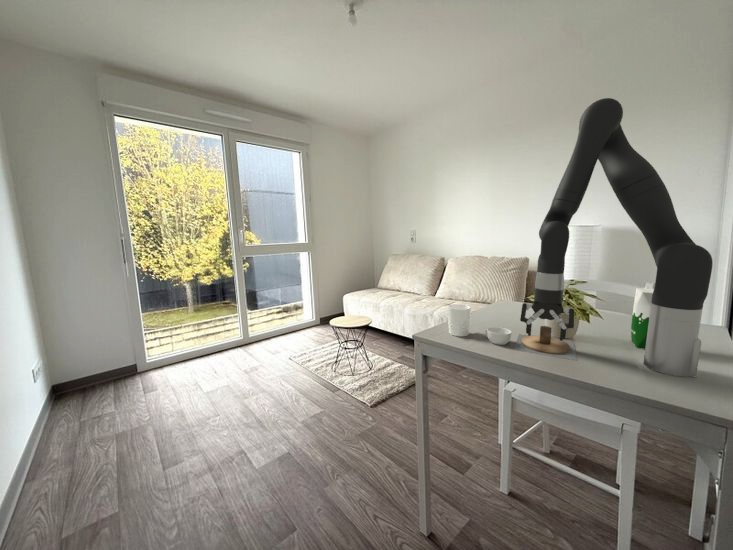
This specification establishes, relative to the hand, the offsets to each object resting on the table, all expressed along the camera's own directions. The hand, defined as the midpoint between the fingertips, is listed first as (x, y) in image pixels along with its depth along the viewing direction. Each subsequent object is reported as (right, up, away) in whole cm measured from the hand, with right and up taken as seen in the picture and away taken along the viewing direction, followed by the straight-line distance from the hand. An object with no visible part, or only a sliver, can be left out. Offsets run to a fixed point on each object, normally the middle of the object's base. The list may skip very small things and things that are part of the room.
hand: (544, 337), depth 94 cm
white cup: (-23, -2, +14) cm, 27 cm away
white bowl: (-13, -3, +4) cm, 14 cm away
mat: (0, -3, 0) cm, 3 cm away
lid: (0, -3, 0) cm, 3 cm away
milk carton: (+33, -3, 0) cm, 33 cm away
